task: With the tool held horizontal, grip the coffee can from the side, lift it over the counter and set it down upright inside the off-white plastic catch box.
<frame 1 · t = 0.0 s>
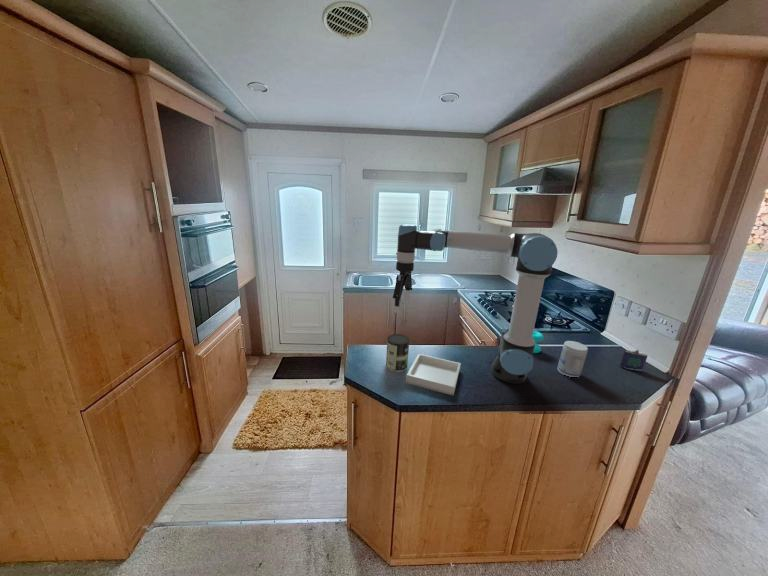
hand: (401, 308, 131), 28 cm above the countertop, tool pointing down, fingers open, 13 cm apart
coffee can: (396, 366, 137), on the countertop
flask: (630, 369, 145), on the countertop
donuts: (530, 350, 159), on the countertop
supplement tub: (568, 373, 138), on the countertop
catch box: (434, 376, 130), on the countertop
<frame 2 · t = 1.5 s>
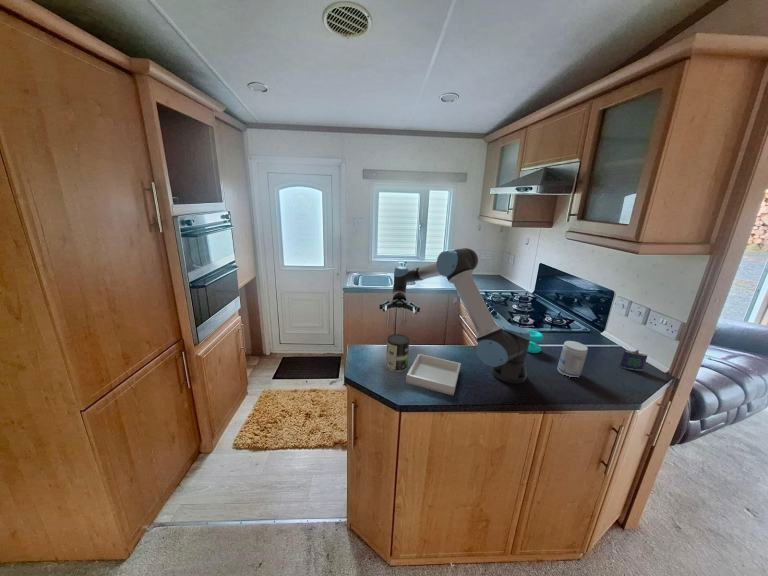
hand: (399, 314, 139), 23 cm above the countertop, tool horizontal, fingers open, 13 cm apart
nothing on the countertop moved.
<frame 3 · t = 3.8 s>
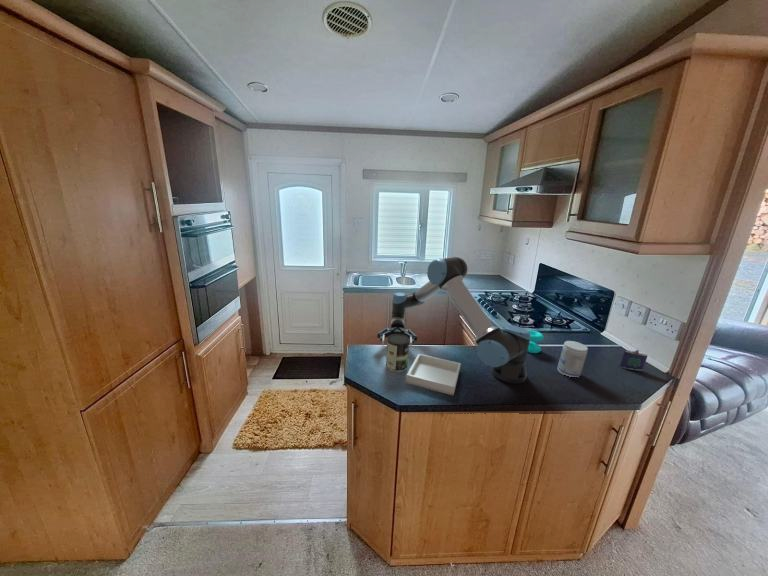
hand: (396, 344, 141), 8 cm above the countertop, tool horizontal, fingers open, 13 cm apart
nothing on the countertop moved.
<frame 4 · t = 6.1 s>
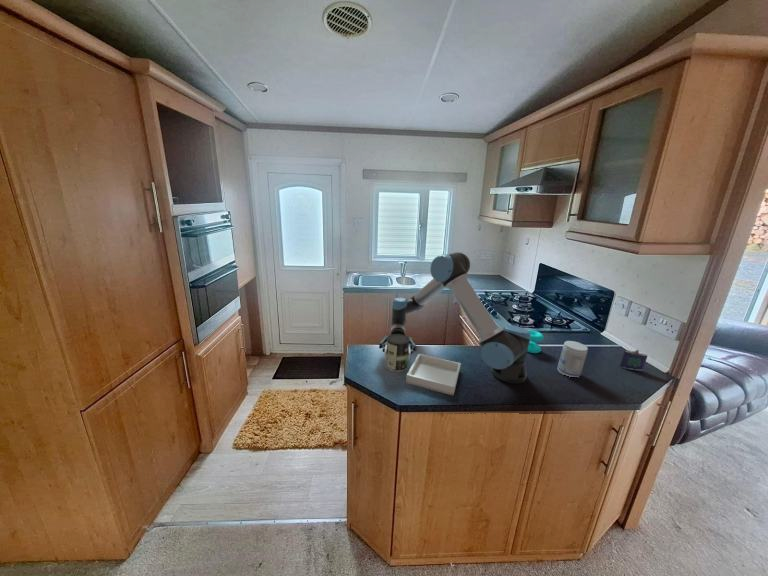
hand: (397, 355, 130), 8 cm above the countertop, tool horizontal, fingers closed on coffee can, 10 cm apart
coffee can: (396, 366, 137), on the countertop, touching gripper
everything else where it was.
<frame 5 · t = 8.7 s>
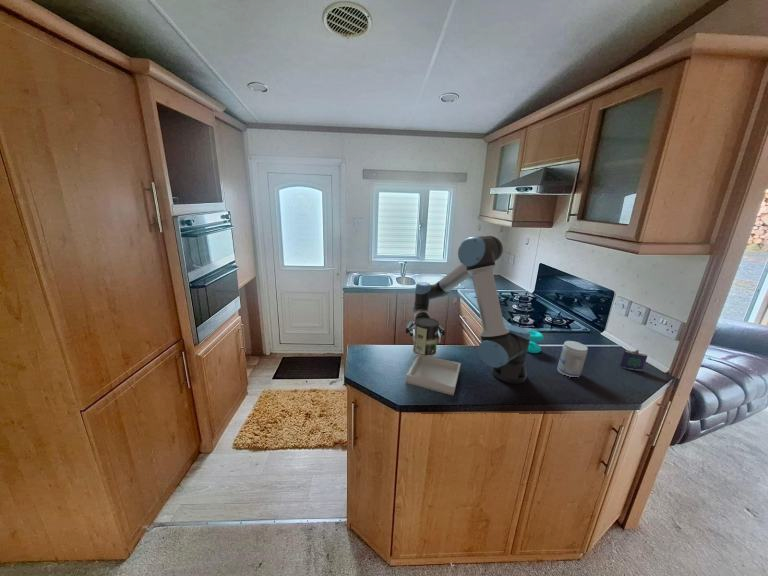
hand: (427, 339, 123), 19 cm above the countertop, tool horizontal, fingers closed on coffee can, 10 cm apart
coffee can: (424, 351, 129), point 11 cm above the countertop, touching gripper
everything else where it was.
when the fingers open (10 cm above the countertop, at t = 11.3 s): coffee can drops 1 cm, resting on catch box.
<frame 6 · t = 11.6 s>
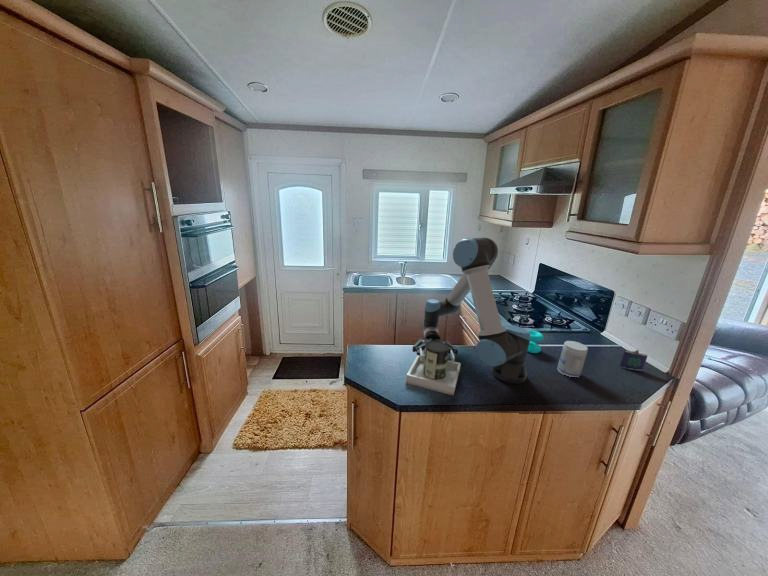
hand: (437, 359, 123), 10 cm above the countertop, tool horizontal, fingers open, 13 cm apart
coffee can: (433, 374, 130), point 1 cm above the countertop, touching catch box
everything else where it was.
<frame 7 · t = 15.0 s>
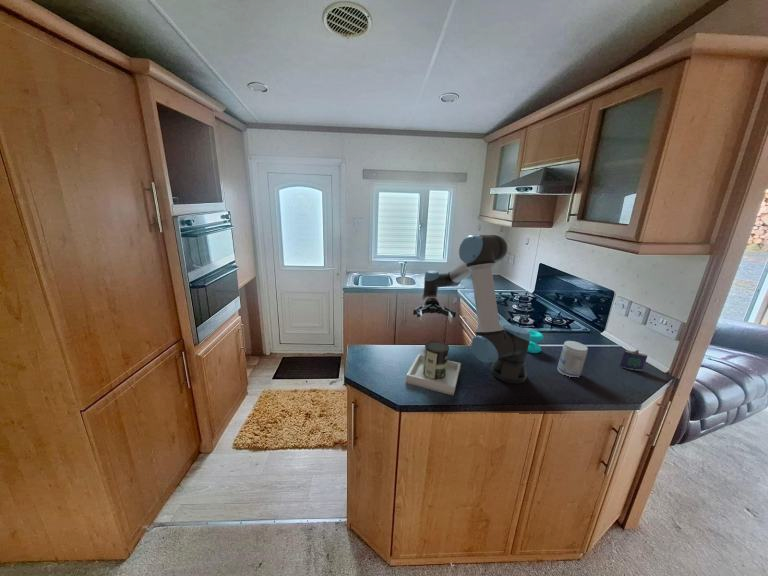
hand: (436, 319, 133), 23 cm above the countertop, tool horizontal, fingers open, 13 cm apart
nothing on the countertop moved.
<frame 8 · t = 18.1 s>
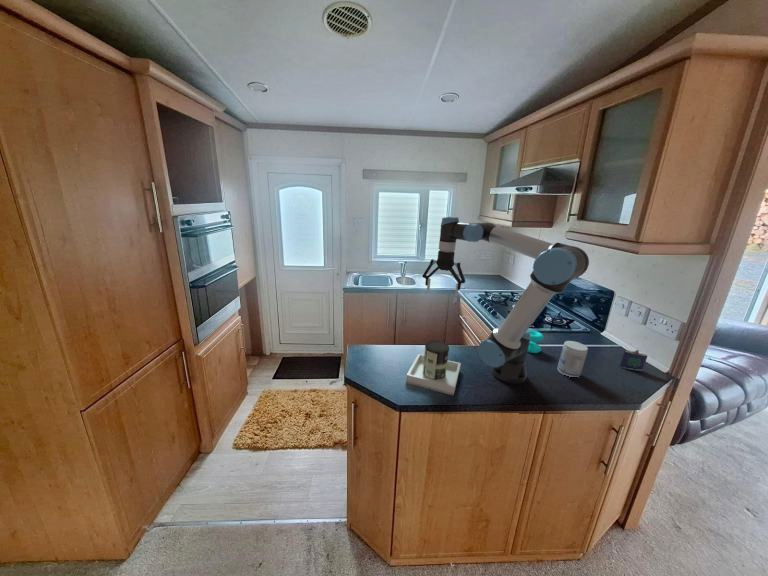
hand: (441, 294, 142), 32 cm above the countertop, tool pointing down, fingers open, 13 cm apart
nothing on the countertop moved.
at the end: coffee can inside the target area on the catch box (0.2 cm from its centre), point 0.8 cm above the catch box's base; coffee can tilted 0°; the gripper is holding nothing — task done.
